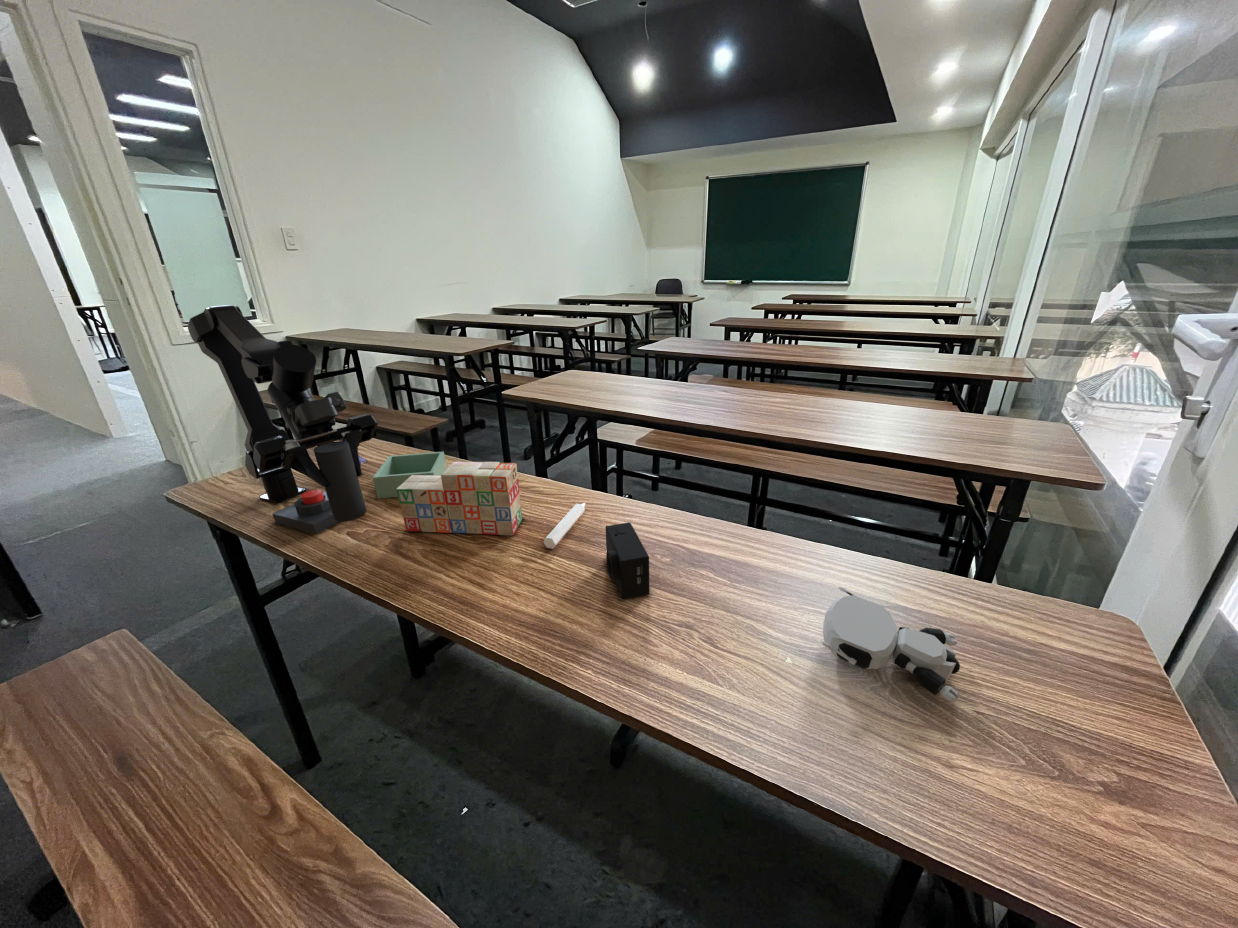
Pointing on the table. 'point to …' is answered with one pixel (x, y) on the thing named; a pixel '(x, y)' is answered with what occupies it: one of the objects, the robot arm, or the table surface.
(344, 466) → the dark grey cylinder
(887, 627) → the robot toy
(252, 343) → the robot arm
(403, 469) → the tote
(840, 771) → the table surface
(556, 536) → the marker
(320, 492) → the button
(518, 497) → the stack of blocks
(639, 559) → the digital camera
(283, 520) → the control block
